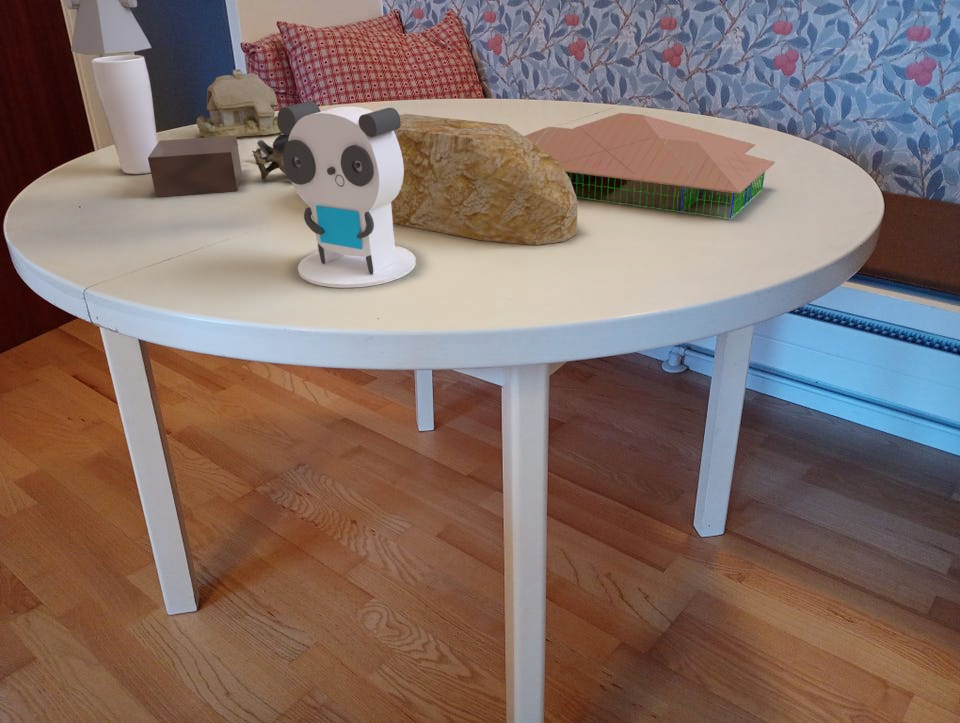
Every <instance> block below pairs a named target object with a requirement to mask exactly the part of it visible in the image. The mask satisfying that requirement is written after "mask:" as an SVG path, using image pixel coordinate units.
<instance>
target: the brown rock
mask: <svg viewBox="0 0 960 723" xmlns="http://www.w3.org/2000/svg"><path fill="white" fill-rule="evenodd" d="M399 116H400V121H401V125H400V128H399V129H396V130H393V131H394V133H395V135H396V138H397V140H398V143H399V146H400V150H401V154H402V158H403V165H404V177H403V183H402V186H401V189H400V191H399V193H398V195H397V197H396V198H395V199H394V200H393V201H392V202H391V207H392V220H393V224H396V225H401V226H406V227H411V228H416V229H420V230H421V229H422V230H427V231H430V232H436V233H442V234H447V235H451V236H456V237H462V238H467V239H471V240H478V241H483V242H485V241H486V242H494V243H495V242H496V243H506V244H507V243H508V244H519V245H530V246H531V245H532V246H539V245H548V244H555V243H565V242H566V241H568V240H570V239H571V238H573V237H575V236H576V235H577V234H578V207H579V206H578V205H579V201H578V198H577V197H576V191H575V189H574V186H573V183H571V182H572V180H571V181H570V175H568V173H567V174H566V172H565V171H564V170H563V168H562V167H561V166H560V165H559V163H558V162H557V161H556V159H554V158H553V157H551V156H550V155H549V154H547V153H546V152H545V151H543V150H542V149H541V148H539V147H538V146H537V145H535V144H534V143H533V142H531V141H530V140H528V139H527V138H526V137H524V136H525V135H523V134H522V133H520V132H519V131H517V130H516V129H514V128H513V127H511V126H509V125H508V124H505V123H504V124H503V123H495V122H485V121H477V120H467V119H459V118H458V119H457V118H448V117H440V116H439V117H438V116H432V115H431V116H430V115H420V114H413V113H412V114H411V113H401V114H399Z"/></svg>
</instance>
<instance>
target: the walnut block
mask: <svg viewBox="0 0 960 723" xmlns="http://www.w3.org/2000/svg"><path fill="white" fill-rule="evenodd" d="M237 139H238V137H236V136H222V137H192V138H177V139H176V138H175V139H163V140H161V139H160V140H159V141H157V142H158V144H157V145H156V147H155V148H154V149H153V151H152V152H151V154H150V155H149V157H148V161H149V166H150V171H151V172H150V175H151V179H152V184H153V190H154V194H155V197H156V198H164V197H176V196H177V197H178V196H179V197H180V196H191V195H192V196H193V195H204V194H217V193H218V194H219V193H229V192H230V193H231V192H238V190H239V186H240V181H241V177H242V173H243V170H242V169H243V168H242V164H241V158H240V150H239V144H238V140H237Z"/></svg>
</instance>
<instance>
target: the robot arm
mask: <svg viewBox="0 0 960 723" xmlns="http://www.w3.org/2000/svg"><path fill="white" fill-rule="evenodd" d="M119 2H120V4H121V5H122V6H123V7H129V8H137V7H138V1H137V0H119ZM65 6H66V8H67V9H68V10H77V9H79V6H80V0H65Z"/></svg>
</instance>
